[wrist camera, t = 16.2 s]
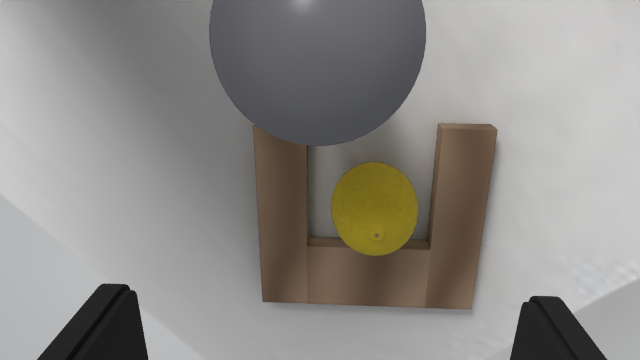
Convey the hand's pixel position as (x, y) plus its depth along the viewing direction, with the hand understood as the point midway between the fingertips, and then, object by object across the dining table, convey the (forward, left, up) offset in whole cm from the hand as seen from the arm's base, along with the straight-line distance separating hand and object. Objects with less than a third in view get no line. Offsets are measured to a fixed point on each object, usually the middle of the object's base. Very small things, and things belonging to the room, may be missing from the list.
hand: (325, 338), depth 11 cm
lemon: (+2, -4, -22) cm, 22 cm away
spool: (-1, +6, -21) cm, 22 cm away
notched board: (+2, -7, -21) cm, 22 cm away
